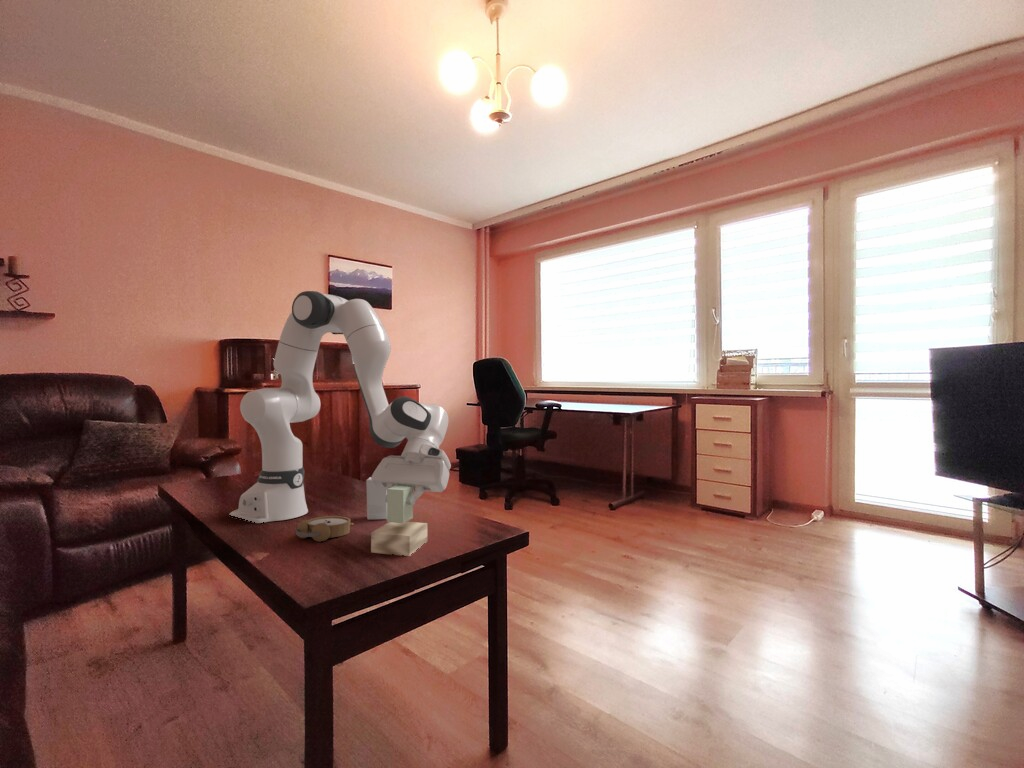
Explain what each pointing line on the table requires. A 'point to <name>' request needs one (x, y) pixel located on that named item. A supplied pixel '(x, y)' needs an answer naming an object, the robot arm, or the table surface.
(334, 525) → the alarm clock
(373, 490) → the skincare box
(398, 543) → the birch block
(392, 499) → the sage block
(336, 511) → the table surface
